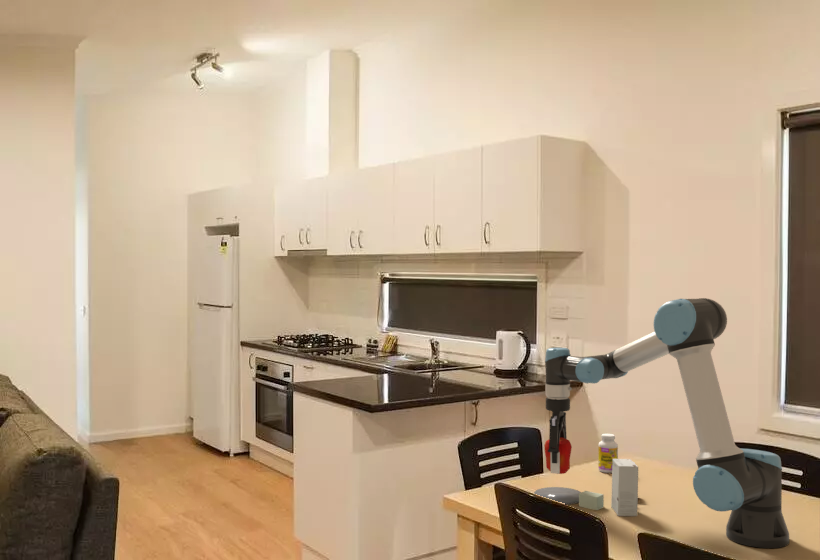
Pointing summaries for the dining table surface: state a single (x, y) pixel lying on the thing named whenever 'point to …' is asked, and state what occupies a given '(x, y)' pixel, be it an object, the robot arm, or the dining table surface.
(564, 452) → the red bell pepper
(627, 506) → the skincare box
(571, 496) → the plate
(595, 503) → the sage block
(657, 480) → the dining table surface
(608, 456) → the supplement bottle
